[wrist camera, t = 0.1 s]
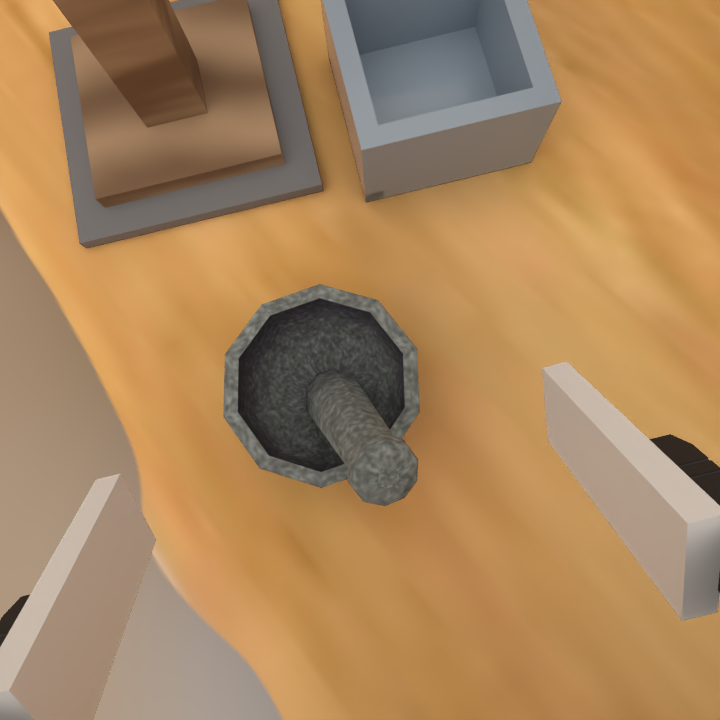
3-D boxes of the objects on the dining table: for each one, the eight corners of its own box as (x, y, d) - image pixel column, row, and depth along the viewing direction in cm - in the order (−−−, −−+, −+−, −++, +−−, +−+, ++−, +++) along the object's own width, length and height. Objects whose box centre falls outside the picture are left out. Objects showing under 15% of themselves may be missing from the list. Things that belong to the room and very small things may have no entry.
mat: (323, 190, 34) (321, 184, 33) (86, 248, 34) (79, 243, 34) (274, -13, 37) (272, -23, 36) (56, 41, 37) (48, 32, 36)
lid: (285, 164, 34) (236, 25, 23) (105, 207, 34) (-30, 91, 23) (249, 8, 36) (189, -187, 25) (80, 50, 36) (-54, -126, 25)
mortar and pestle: (226, 379, 32) (135, 339, 21) (347, 290, 33) (325, 201, 21) (334, 531, 31) (302, 581, 19) (460, 432, 31) (505, 422, 19)
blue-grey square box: (531, 162, 34) (561, 101, 28) (365, 202, 34) (361, 150, 28) (485, 19, 36) (504, -66, 30) (328, 57, 36) (317, -20, 30)
